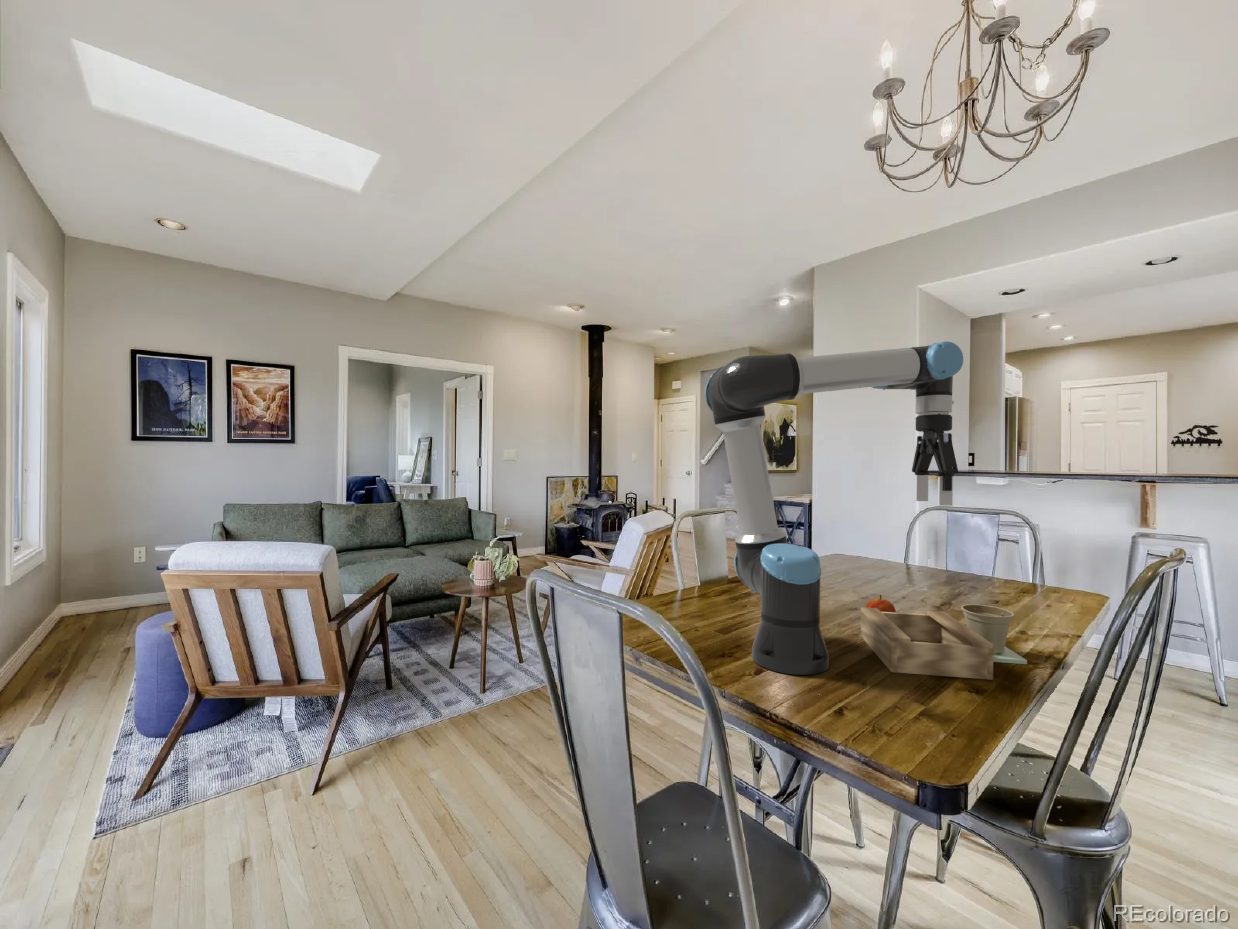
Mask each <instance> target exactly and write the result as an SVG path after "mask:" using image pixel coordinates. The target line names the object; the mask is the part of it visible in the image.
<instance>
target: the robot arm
mask: <svg viewBox="0 0 1238 929" xmlns="http://www.w3.org/2000/svg"><path fill="white" fill-rule="evenodd" d="M963 365H964V353H963V351H962V349H961V348H960V346H959V345H958V344H956V343H955V342H953V341H946V340H945V341H941V342H940V341H939V342H934V343H932V344H930V345H929V344H928V345H924V346H923V345H922V346H921V345H920V346H912V347H901V348H900V347H899V348H893V349H892V348H888V349H879V350H868V351H858V352H857V351H856V352H847V353H834V354H824V355H815V356H814V355H813V356H803V357H797V356H796V355H795V354H794V353H789V352H788V353H780V354H779V353H777V354H753V355H744V356H741V357H737V358H734V359H733V360H732V361H730V362H728V363H727V364H726V365H723V366H721V367H719V368H717V369H716V370H715V371H714V372H713V373H712V374H711V375H710V377H709V378H708V380H707V383H706V385H705V387H704V400H705V402H706V406H707V407H708V408H709V410H710V411H711V412H712V416H713V421H714V426H715V428H717V429H718V430H720V431H721V432H722V435H723V441H724V447H725V452H726V459H727V462H728V470H729V475H730V476H729V477H730V480H731V486H732V492H733V497H734V503H735V509H736V516H737V521H738V526H739V527H738V528H739V533H738V535H737V536H736V537H735V539H734V542H735V548H736V552H735V554H734V558H733V565H734V566H733V568H734V571H735V574H736V575H737V577H738V579H739V580H740V581H741V582H742V583H743V585H744V586H745V587H747V588H748V589H750V590H751V591H753V592H754V593H756V594H758V595H759V596H760V622H759V625H758V629H757V631H756V634H755V637H754V640H753V643H752V647H751V659H752V660H753V661H754V663H756V664H757V665H759V667H760V666H761V667H763V668H764V667H765V669H767V670H771V671H772V672H777V673H780V674H782V673H783V674H787V675H796V676H797V675H799V676H809V675H816V674H820V673H823V672H825V671H827V670H828V669H829V667H830V665H829V664H830V661H829V660H830V655H829V651H828V648H827V645H826V643H825V639H824V636H823V632H822V630H821V626H820V622H821V576H822V568H821V559H820V557H819V555H818V553H816V551H814V550H813V549H811V548H809V547H806V546H802V545H801V546H800V545H798V544H793V543H788V541H787V540H788V539H787V533H786V531H783V530H782V529H781V528H779V526H778V522H777V516H776V509H775V505H774V499H773V493H772V487H771V480H770V476H769V474H770V473H769V470H768V465H767V464H768V463H767V459H766V458H767V457H766V452H765V446H764V445H765V444H764V439H763V435H762V428H761V425H762V423H763V421H764V420H765V419H766V412H765V406H769V405H771V404H774V403H780V402H783V401H793V400H795V399H796V398H798V396H799V395H805V394H813V393H823V392H833V391H835V392H836V391H843V390H854V389H862V388H863V389H864V388H865V389H866V388H872V389H877V390H883V391H884V390H913V391H914V390H915V409H914V410H915V414H916V415H917V416H916V417H915V431H917V432H919V433H921V432H922V433H923V434H922V435H917V437H916V447H915V452H914V458H913V462H912V468H911V472H912V473H914V475H915V497H914V498H915V500H914V501H915V502H929V476H930V475H931V474H930V472H929V471H928V470H929V468H930V465H931V462H932V459H933V458H934V460H935V462H936V466H937V469H938V471H939V472H938V473H937V474H936V477H937V505H938V506H947V507H948V506H949V507H950V506H953V501H954V500H953V496H954V495H953V493H954V492H953V491H954V490H953V489H954V488H953V487H954V484H953V482H954V477H955V475H957V474H959V468H958V464H957V460H956V455H955V454H956V453H955V451H954V446H953V445H954V444H953V436H952V435H953V434H952V433H951V432H949V431H952V429H953V415H951V413H952V412H953V405H954V404H955V401H954V400H953V378H954V376H955V375H957V374H958V373H959V372H960V371H961V370H962V367H963ZM946 432H947V433H946ZM948 432H949V433H948Z"/></svg>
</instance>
